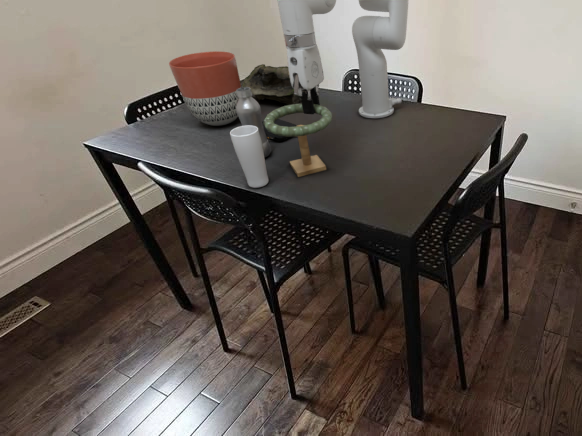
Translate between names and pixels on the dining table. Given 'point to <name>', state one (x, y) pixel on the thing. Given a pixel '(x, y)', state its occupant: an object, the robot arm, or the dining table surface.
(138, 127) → the dining table surface
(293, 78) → the robot arm
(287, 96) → the hollow geode rock
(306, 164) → the coat peg
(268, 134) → the carrying case
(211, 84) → the planter
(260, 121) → the plastic bottle
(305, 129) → the hoop
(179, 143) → the dining table surface
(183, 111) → the dining table surface
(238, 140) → the drinking glass
